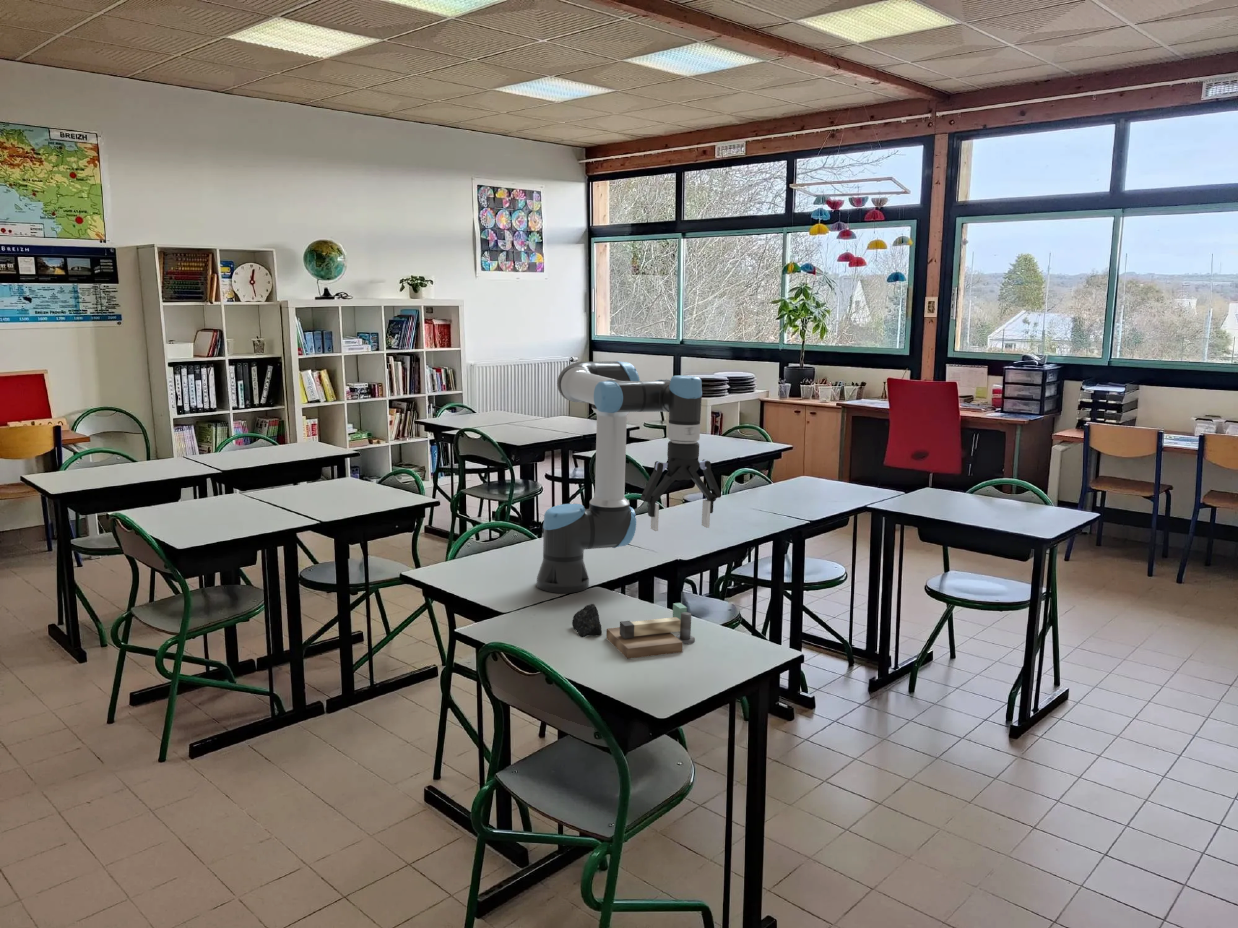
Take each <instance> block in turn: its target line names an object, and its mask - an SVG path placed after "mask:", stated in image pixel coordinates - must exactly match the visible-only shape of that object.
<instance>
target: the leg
mask: <svg viewBox="0 0 1238 928" xmlns="http://www.w3.org/2000/svg"><path fill="white" fill-rule="evenodd" d="M680 623H681V620H680V619H678V618H677V617H673V616H672V617H665V618H654V619H646V620H637V621H636V620H635V621H634V620H633V621H630V620H621V621H619V627H620V635H621V636H622V637H623V638H624V639H628V638H634V636H642V635H651V634H660V633H669V632H671V633H678V632H680Z"/></svg>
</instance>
